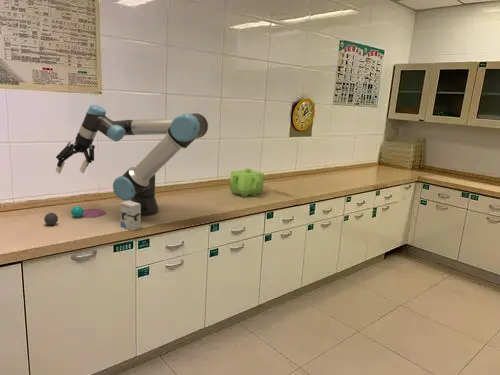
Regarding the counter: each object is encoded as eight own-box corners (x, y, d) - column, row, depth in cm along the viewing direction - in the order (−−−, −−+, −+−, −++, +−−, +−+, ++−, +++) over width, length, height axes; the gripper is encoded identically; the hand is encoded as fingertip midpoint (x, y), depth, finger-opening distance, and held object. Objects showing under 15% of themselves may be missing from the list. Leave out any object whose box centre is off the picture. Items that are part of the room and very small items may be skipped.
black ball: (61, 224, 173) (60, 212, 171) (50, 227, 168) (49, 215, 167) (52, 221, 175) (52, 210, 174) (41, 225, 170) (41, 213, 169)
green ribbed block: (250, 188, 264) (252, 164, 260) (271, 196, 247) (273, 170, 243) (220, 192, 249) (221, 166, 245) (240, 200, 232) (242, 173, 228)
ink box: (120, 226, 175) (119, 202, 172) (128, 224, 179) (128, 200, 176) (132, 231, 170) (132, 205, 168) (141, 228, 174) (141, 203, 172)
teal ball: (86, 216, 185) (85, 205, 184) (76, 219, 180) (76, 208, 179) (78, 214, 187) (77, 203, 186) (68, 217, 182) (68, 206, 181)
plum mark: (111, 212, 194) (111, 212, 194) (89, 219, 182) (89, 218, 182) (92, 207, 200) (92, 207, 200) (69, 213, 188) (69, 213, 187)
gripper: (102, 133, 194) (86, 167, 201) (58, 129, 172) (42, 167, 178) (111, 141, 192) (94, 175, 198) (68, 138, 170) (51, 176, 176)
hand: (70, 171), depth 188 cm, fingers open, 13 cm apart
